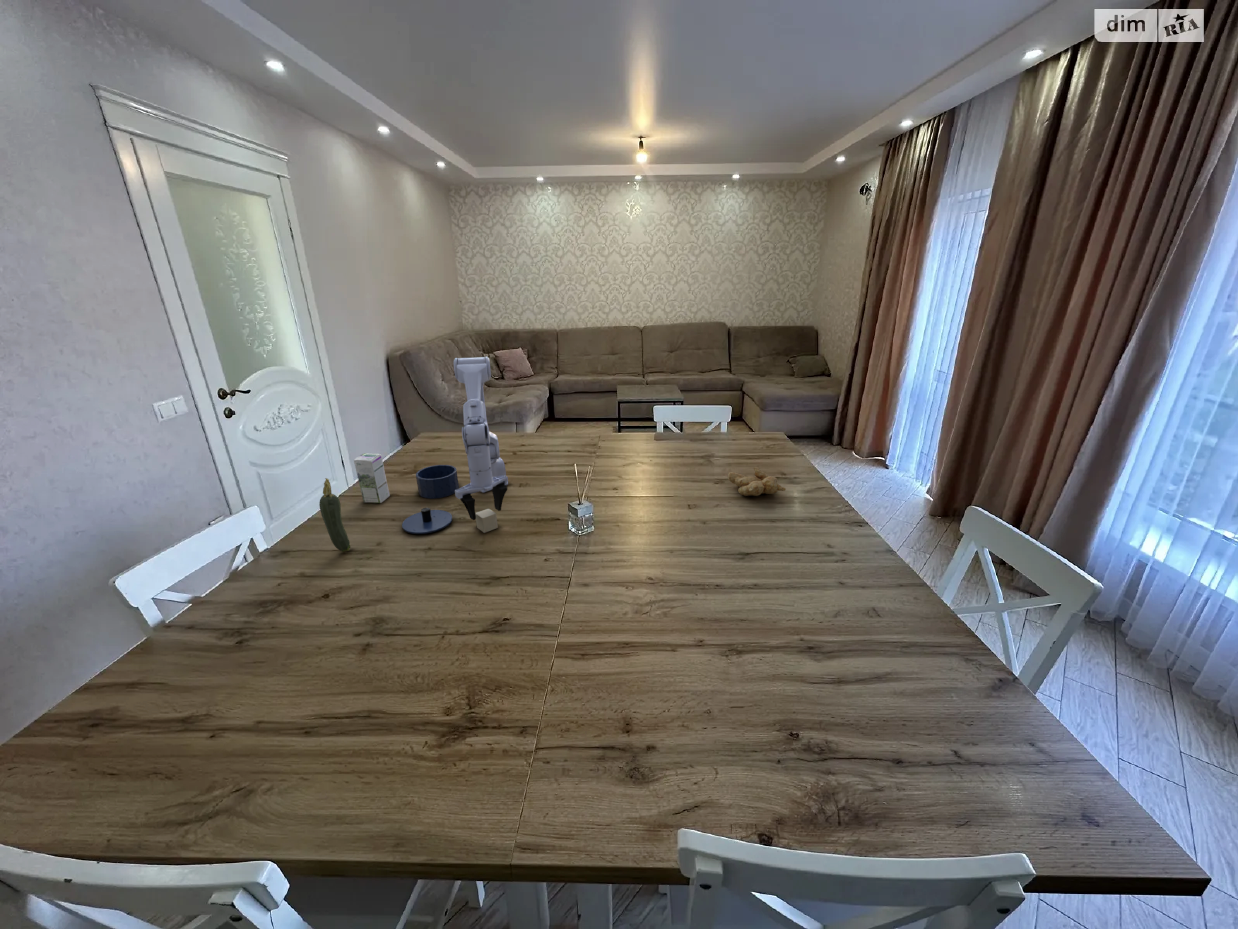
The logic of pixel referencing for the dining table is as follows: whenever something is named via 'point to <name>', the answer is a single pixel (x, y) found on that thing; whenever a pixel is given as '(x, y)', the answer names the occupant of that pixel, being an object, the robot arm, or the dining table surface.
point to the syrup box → (372, 478)
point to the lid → (427, 521)
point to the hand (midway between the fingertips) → (485, 514)
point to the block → (486, 520)
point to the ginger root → (755, 483)
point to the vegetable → (333, 518)
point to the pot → (437, 481)
